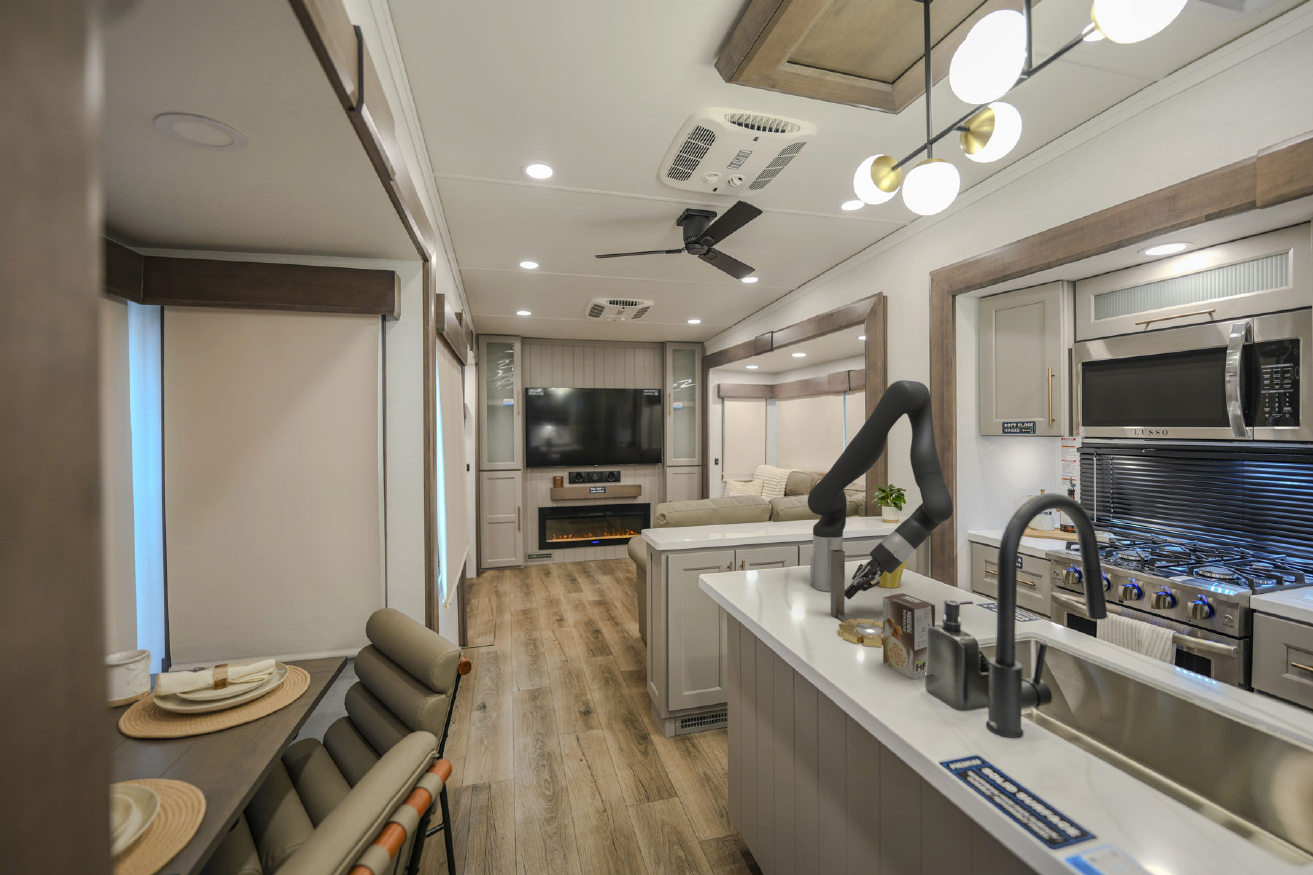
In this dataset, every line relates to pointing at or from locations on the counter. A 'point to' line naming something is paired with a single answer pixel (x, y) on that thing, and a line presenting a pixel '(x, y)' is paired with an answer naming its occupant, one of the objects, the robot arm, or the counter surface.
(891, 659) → the coffee box
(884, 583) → the plant pot
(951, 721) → the counter surface
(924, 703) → the counter surface
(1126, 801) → the counter surface
